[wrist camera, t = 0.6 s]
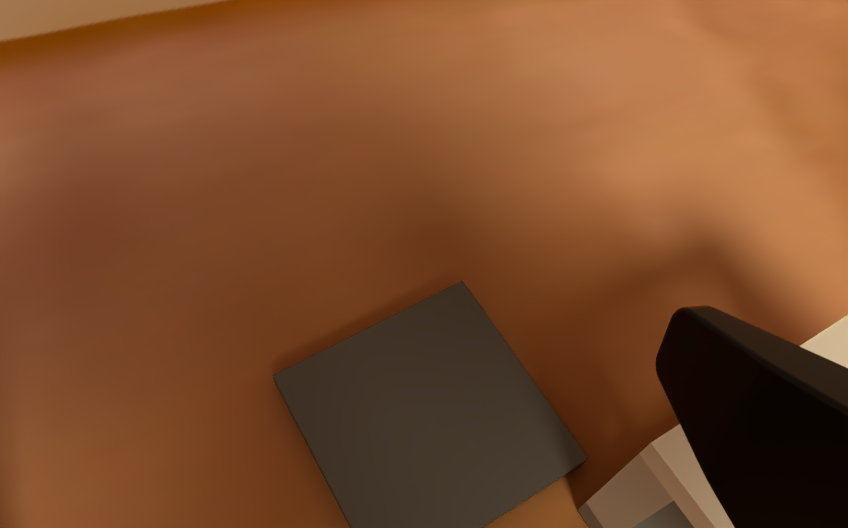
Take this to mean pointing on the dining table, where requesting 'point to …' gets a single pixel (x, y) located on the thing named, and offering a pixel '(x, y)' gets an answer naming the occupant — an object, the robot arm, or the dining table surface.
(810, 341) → the guard
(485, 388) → the pad
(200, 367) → the dining table surface
